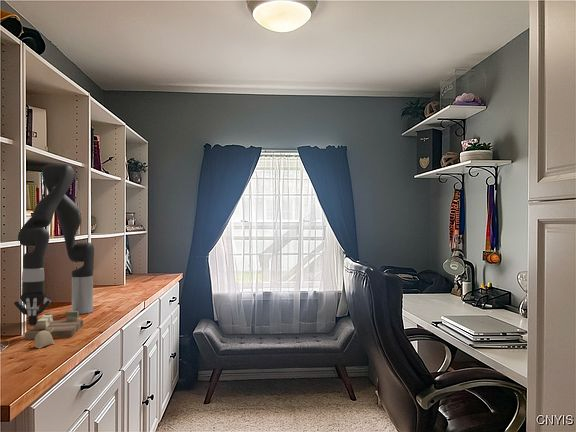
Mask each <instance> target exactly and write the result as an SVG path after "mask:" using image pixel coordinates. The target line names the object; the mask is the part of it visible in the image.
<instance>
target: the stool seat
mask: <svg viewBox="0 0 576 432" xmlns="http://www.w3.org/2000/svg"><path fill="white" fill-rule="evenodd" d="M79 317H80V314H79V311H72V310H69V311H67V312H66V319H64V320H63V319H61V320H53V322H52V323H51V324H50V325H49V326H48V327H47V328H46V329H37V324H36V325H34V326H33V327H31V328H30V329H29V330H27V331H25V332H24V340H25V341H26V340H35V336H36V334H38V333H39V332H41V331H49V330H50V329H51V328H54V329H53V331H52V332H51V333H50V334H51V335H52V338H53V339H58V338H60V337H63V338H72V337H73V336H74V335H75V334H77V332H78V331H80V329H81V328H82V327H83V326H84V319H82V318H81V319H79Z"/></svg>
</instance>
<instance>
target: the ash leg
mask: <svg viewBox="0 0 576 432" xmlns="http://www.w3.org/2000/svg"><path fill="white" fill-rule="evenodd" d="M53 321H54V313H51V312H48V313H45V314H43V315H42V316H41V317H40V318H39V319H38V321H37V323H36V325H37V329H46V328H47V327H48V326H49V325H50V324H51V323H52V322H53Z"/></svg>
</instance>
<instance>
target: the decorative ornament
mask: <svg viewBox="0 0 576 432" xmlns="http://www.w3.org/2000/svg"><path fill="white" fill-rule="evenodd" d="M53 329H54V328H51V329H50V330H49V331H41V332H39V333H38V334H36V336H35V339H33V340H34V346H33V347H34V348H37V349H38V350H39V349H40V350H41V349H42V348H43V347H46V346H48V345H56V344H55V343H56V342H55V341H54V338H52V335H51V334H50V333H51V332H52V331H53Z"/></svg>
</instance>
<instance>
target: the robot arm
mask: <svg viewBox="0 0 576 432" xmlns="http://www.w3.org/2000/svg"><path fill="white" fill-rule="evenodd" d="M41 175H42V180H43V182H44V185H45V188H46V189H47V191H48V193H47V194H46V195H45V196H44V197H42V198H41V199H40V200H39V201H38V202H37V204H36V206H35V208H34V210H33V212H32V213H31V217H29V219H28V220H27V221H26V222H25V224H23V226H21V228H22V229H21V228H20V229H21V230H19V231H20V232H19V231H18V233H19V234H17V241H18V240H19V241H20V243H21V244H20V243H19V244H20V245H21V246H22V247H34V250H33V251H31V252H25V253H24V254H23V256H22V273H21V294H20V295H21V296H20V297H19V299H18V300H17V301H14V302H13V303H14V306H15V307H16V308H17V309H18V311H20V312H21V313H22V315H26V316H27V317H28V318H27V319H28V322H27V323H28V325H29V326H31V327H32V326H33V327H34V326H36V325H37V321H38V320H39V319H38V316H39V315H40V314H42V313H44V312H45V310H46V309H47V308H48V307H49V305H50V304H51V303H52V299H49V298H47V296H46V294H45V277H46V276H45V255H46V251H47V248H48V244H49V241H50V232H49V231H48V230H47V229H46V228H47V227H49V226H50V225H51V222H52V219H53V217H54V214H55V213H56V216H57V221H58V223H59V226H60V228H61V232H62V235H63V238H64V243H65V249H66V253H67V256H68V259H69V261H71V262H73V263H83V265H82V266H80V267H78V268H75V269H74V270H72V271H71V311H79V315H85V314H89V313H93V311H94V269H95V268H94V263H95V260H94V259H95V246H94V244H93V243H92V242H77V240H76V234H77V232H78V230H79V229H80V226H81V224H82V217H81V213H80V210H79V207H78V205H77V204H76V203H75V202H74V200H72V199H71V198H70V197H68V196H67V194H66V193H67V192H68V191H69V189H70V188H71V186H72V184H73V182H74V179H75V172H74V169H73V167H72V166H71V165H68V164H54V163H53V164H51V163H50V164H46V165H44V166H43V167H42V173H41ZM19 241H18V242H19ZM22 302H23V303H22ZM42 303H43V305H42V306H41V308H40V305H41V304H42ZM24 305H25V306H26V307H25V306H24ZM39 308H40V309H39Z"/></svg>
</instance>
